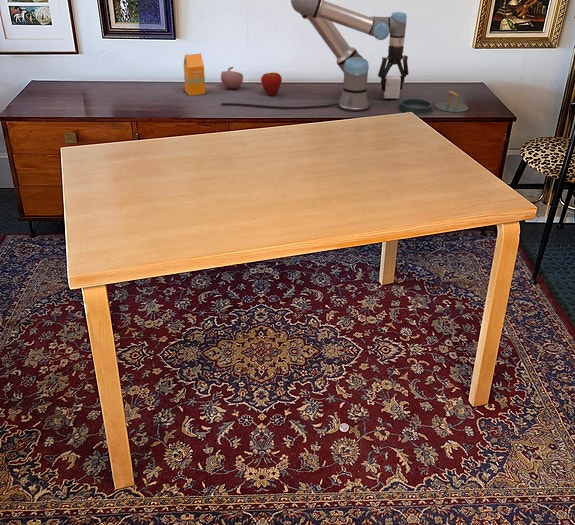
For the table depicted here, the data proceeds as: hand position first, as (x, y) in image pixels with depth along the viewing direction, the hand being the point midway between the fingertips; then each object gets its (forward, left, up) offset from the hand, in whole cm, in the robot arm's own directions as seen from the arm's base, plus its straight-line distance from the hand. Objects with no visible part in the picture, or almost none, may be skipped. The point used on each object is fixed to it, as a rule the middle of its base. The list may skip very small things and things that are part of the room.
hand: (391, 89), depth 331 cm
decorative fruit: (-72, +47, -6) cm, 86 cm away
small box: (0, 0, -4) cm, 4 cm away
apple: (-56, +29, -6) cm, 63 cm away
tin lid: (+22, -23, -5) cm, 32 cm away
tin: (+4, -18, -5) cm, 19 cm away
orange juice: (-93, +46, -6) cm, 104 cm away
